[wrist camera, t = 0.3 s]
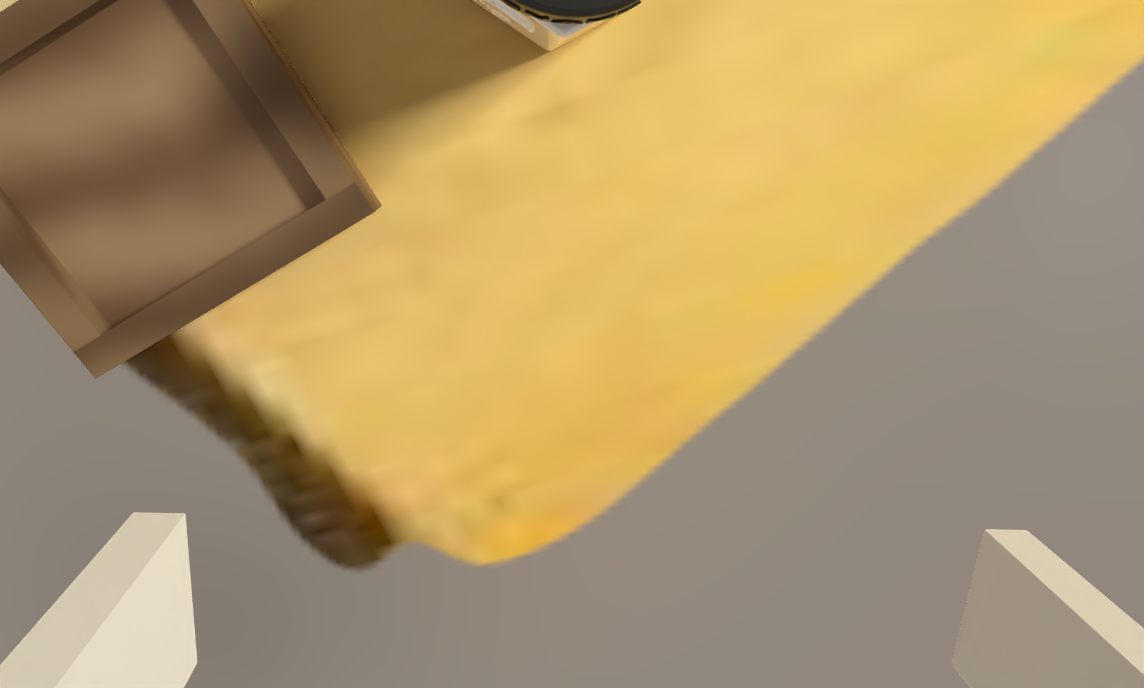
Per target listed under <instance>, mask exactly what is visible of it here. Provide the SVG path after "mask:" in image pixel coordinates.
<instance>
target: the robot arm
mask: <svg viewBox="0 0 1144 688" xmlns="http://www.w3.org/2000/svg"><path fill="white" fill-rule="evenodd" d="M191 592H192V591H191V580H190V567H189V554H188V541H187V529H186V517H185V513H179V514H178V513H135V512H134V513H133V514H132V515H131V516H130V517H129V518H128V519H127V521H126V522H125V523H124V524H123V525H122V526H121V527H120V529H119V530H118V531H117V532H116V533H115V534H114V536H113V537H112V538H111V539H110V540H109V541H108V542H107V544H106V545H105V546H104V547H103V548H102V549H101V550H100V552H99V553H98V554H97V555H96V556H95V557H94V558H93V560H92V561H91V562H90V563H89V564H88V565H87V566H86V568H85V569H84V570H83V571H82V572H81V573H80V574H79V576H78V577H77V578H76V579H75V580H74V581H73V582H72V584H71V585H70V586H69V587H68V588H67V589H66V590H65V592H64V593H63V594H62V595H61V596H60V597H59V598H58V600H57V601H56V602H55V603H54V604H53V605H52V607H51V608H50V609H49V610H48V611H47V612H46V613H45V615H44V616H43V617H42V618H41V619H40V620H39V621H38V623H37V624H36V625H35V626H34V627H33V628H32V630H31V631H30V632H29V633H28V634H27V635H26V636H25V637H24V638H23V640H22V641H21V642H20V643H19V644H18V645H17V647H16V648H15V649H14V650H13V651H12V652H11V653H10V655H9V656H8V657H7V658H6V659H5V660H4V661H3V663H2V664H1V665H0V688H184V686H185V684H186V682H187V681H188V679H189V677H190V675H191V673H192V671H193V669H194V667H195V666H196V664H197V654H196V641H195V630H194V629H195V628H194V616H193V604H192V593H191ZM952 666H953V667H954V668H955V670H956V671H957V672H958V674H959V675H960V676H961V677H962V678H963V680H964V681H965V682H966V684H967V685H968V686H969V688H1144V629H1143V628H1142V627H1141V626H1140V625H1139V624H1138V623H1136V622H1135V621H1134V620H1133V619H1131V618H1130V617H1129V616H1128V615H1127V614H1126V613H1124V612H1123V611H1122V610H1121V609H1120V608H1118V607H1117V606H1116V605H1115V604H1114V603H1112V602H1111V601H1110V600H1109V599H1108V598H1107V597H1105V596H1104V595H1103V594H1102V593H1101V592H1099V591H1098V590H1097V589H1096V588H1095V587H1094V586H1092V585H1091V584H1090V583H1089V582H1087V581H1086V580H1085V579H1084V578H1083V577H1082V576H1080V575H1079V574H1078V573H1077V572H1076V571H1075V570H1073V569H1072V568H1071V567H1070V566H1069V565H1067V564H1066V563H1065V562H1064V561H1063V560H1061V559H1060V558H1059V557H1058V556H1057V555H1055V554H1054V553H1053V552H1052V551H1051V550H1049V549H1048V548H1047V547H1046V546H1045V545H1044V544H1042V543H1041V542H1040V541H1039V540H1038V539H1036V538H1035V537H1034V536H1033V535H1032V534H1031V533H1029V532H1028V531H1027V530H992V529H985V530H984V533H983V537H982V542H981V546H980V550H979V554H978V558H977V562H976V566H975V570H974V574H973V578H972V583H971V586H970V591H969V595H968V599H967V603H966V608H965V611H964V615H963V619H962V623H961V627H960V632H959V636H958V640H957V644H956V648H955V652H954V656H953V660H952Z"/></svg>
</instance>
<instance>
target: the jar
mask: <svg viewBox="0 0 1144 688" xmlns="http://www.w3.org/2000/svg"><path fill="white" fill-rule="evenodd" d="M472 1H474V2H475V3H477V4H478V5H480V6H481V7H483V8H484V9H486V10H487V11H489V12H490V13H492V14H493V15H495V16H496V17H498V18H499V19H501V20H502V21H503V22H505V23H506V24H508V25H509V26H511V27H512V28H514V29H515V30H517V31H518V32H520V33H521V34H523V35H524V36H526V37H527V38H529V39H530V40H532V41H533V42H535V43H536V44H538V45H539V46H540V47H542V48H543V49H545V50H547V51H553V50H555V49H556V48H558V47H560V46H562V45H564V44H565V43H567V42H569V41H571V40H573V39H574V38H576V37H578V36H580V35H582V34H583V33H585V32H587V31H589V30H591V29H592V28H594V27H596V26H598V25H600V24H602V23H603V22H605V21H607V20H609V19H611V18H612V17H614V16H616V15H617V16H618V15H620V14H622V13H624V12H626V11H628V10H630V9H632V8H633V7H635V6H637V5H638V4H640V3H641V1H642V0H472Z"/></svg>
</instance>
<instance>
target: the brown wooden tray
mask: <svg viewBox="0 0 1144 688" xmlns="http://www.w3.org/2000/svg"><path fill="white" fill-rule="evenodd" d="M380 206H381V204H380V202H379V201H378V199H377V198H376V196H375V194H374V193H373V191H372V190H371V188H370V187H369V185H368V184H367V182H366V181H365V179H364V177H363V176H362V174H361V173H360V171H359V170H358V168H357V167H356V165H355V164H354V162H353V160H352V159H351V157H350V156H349V154H348V153H347V151H346V150H345V148H344V147H343V145H342V143H341V142H340V140H339V139H338V137H337V136H336V134H335V133H334V131H333V130H332V128H331V126H330V125H329V123H328V122H327V120H326V119H325V117H324V116H323V114H322V113H321V111H320V110H319V108H318V106H317V105H316V103H315V102H314V100H313V99H312V97H311V96H310V94H309V93H308V91H307V89H306V88H305V86H304V85H303V83H302V82H301V80H300V79H299V77H298V76H297V74H296V72H295V71H294V69H293V68H292V66H291V65H290V63H289V62H288V60H287V59H286V57H285V55H284V54H283V52H282V51H281V49H280V48H279V46H278V45H277V43H276V42H275V40H274V38H273V37H272V35H271V34H270V32H269V31H268V29H267V28H266V26H265V25H264V23H263V21H262V20H261V18H260V17H259V15H258V14H257V12H256V11H255V9H254V8H253V6H252V4H251V3H250V1H249V0H18V1H17V2H15V3H14V4H12V5H11V6H9V7H8V8H6V9H5V10H3V11H1V12H0V264H1V265H2V266H3V267H4V268H5V270H6V271H7V272H8V273H9V275H10V276H11V277H12V278H13V279H14V280H15V282H16V283H17V284H18V285H19V286H20V288H21V289H22V290H23V291H24V293H25V294H26V295H27V296H28V297H29V299H30V300H31V301H32V302H33V304H34V305H35V306H36V307H37V308H38V310H39V311H40V312H41V313H42V314H43V316H44V317H45V318H46V319H47V320H48V322H49V323H50V324H51V325H52V327H53V328H54V329H55V330H56V331H57V333H58V334H59V335H60V336H61V337H62V339H63V340H64V341H65V342H66V343H67V345H68V346H69V347H70V348H71V349H72V350H73V352H74V353H75V354H76V355H77V357H78V358H79V359H80V360H81V362H82V363H83V364H84V365H85V366H86V368H87V369H88V370H89V371H90V372H91V374H92V375H93V376H94V377H95V378H98V377H99V376H101V375H103V374H104V373H106V372H108V371H109V370H111V369H113V368H114V367H116V366H118V365H119V364H121V363H123V362H124V361H126V360H128V359H129V358H131V357H133V356H134V355H136V354H138V353H139V352H141V351H143V350H144V349H146V348H148V347H149V346H151V345H153V344H154V343H156V342H158V341H159V340H161V339H163V338H164V337H166V336H168V335H169V334H171V333H173V332H174V331H176V330H178V329H180V328H181V327H183V326H185V325H186V324H188V323H190V322H191V321H193V320H195V319H196V318H198V317H200V316H201V315H203V314H205V313H206V312H208V311H210V310H211V309H213V308H215V307H216V306H218V305H220V304H221V303H223V302H225V301H226V300H228V299H230V298H231V297H233V296H235V295H236V294H238V293H240V292H241V291H243V290H245V289H246V288H248V287H250V286H251V285H253V284H255V283H256V282H258V281H260V280H261V279H263V278H265V277H266V276H268V275H270V274H271V273H273V272H275V271H276V270H278V269H280V268H281V267H283V266H285V265H287V264H288V263H290V262H292V261H293V260H295V259H297V258H298V257H300V256H302V255H303V254H305V253H307V252H308V251H310V250H312V249H313V248H315V247H317V246H318V245H320V244H322V243H323V242H325V241H327V240H328V239H330V238H332V237H333V236H335V235H337V234H338V233H340V232H342V231H343V230H345V229H347V228H348V227H350V226H352V225H353V224H355V223H357V222H358V221H360V220H362V219H363V218H365V217H367V216H368V215H370V214H372V213H373V212H375V211H376V210H377V209H378V208H379V207H380Z"/></svg>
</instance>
